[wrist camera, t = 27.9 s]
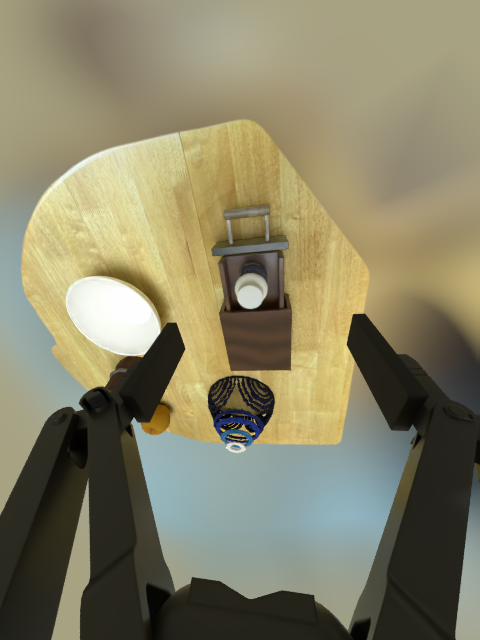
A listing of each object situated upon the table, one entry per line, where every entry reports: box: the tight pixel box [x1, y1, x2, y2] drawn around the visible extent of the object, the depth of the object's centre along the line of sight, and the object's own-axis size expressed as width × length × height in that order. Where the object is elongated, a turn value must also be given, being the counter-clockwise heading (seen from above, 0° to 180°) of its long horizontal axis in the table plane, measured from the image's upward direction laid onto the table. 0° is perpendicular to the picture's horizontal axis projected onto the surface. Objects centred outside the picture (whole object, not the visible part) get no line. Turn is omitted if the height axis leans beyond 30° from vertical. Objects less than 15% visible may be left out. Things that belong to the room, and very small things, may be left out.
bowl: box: [66, 276, 161, 356], centre depth 45 cm, size 20×20×7 cm
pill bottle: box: [235, 261, 268, 309], centre depth 35 cm, size 5×5×10 cm
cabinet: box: [219, 294, 292, 371], centre depth 45 cm, size 16×14×7 cm
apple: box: [141, 405, 170, 435], centre depth 66 cm, size 9×9×9 cm
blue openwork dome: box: [208, 376, 275, 453], centre depth 57 cm, size 20×20×14 cm
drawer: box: [211, 204, 289, 311], centre depth 37 cm, size 20×12×5 cm, turn 7°
